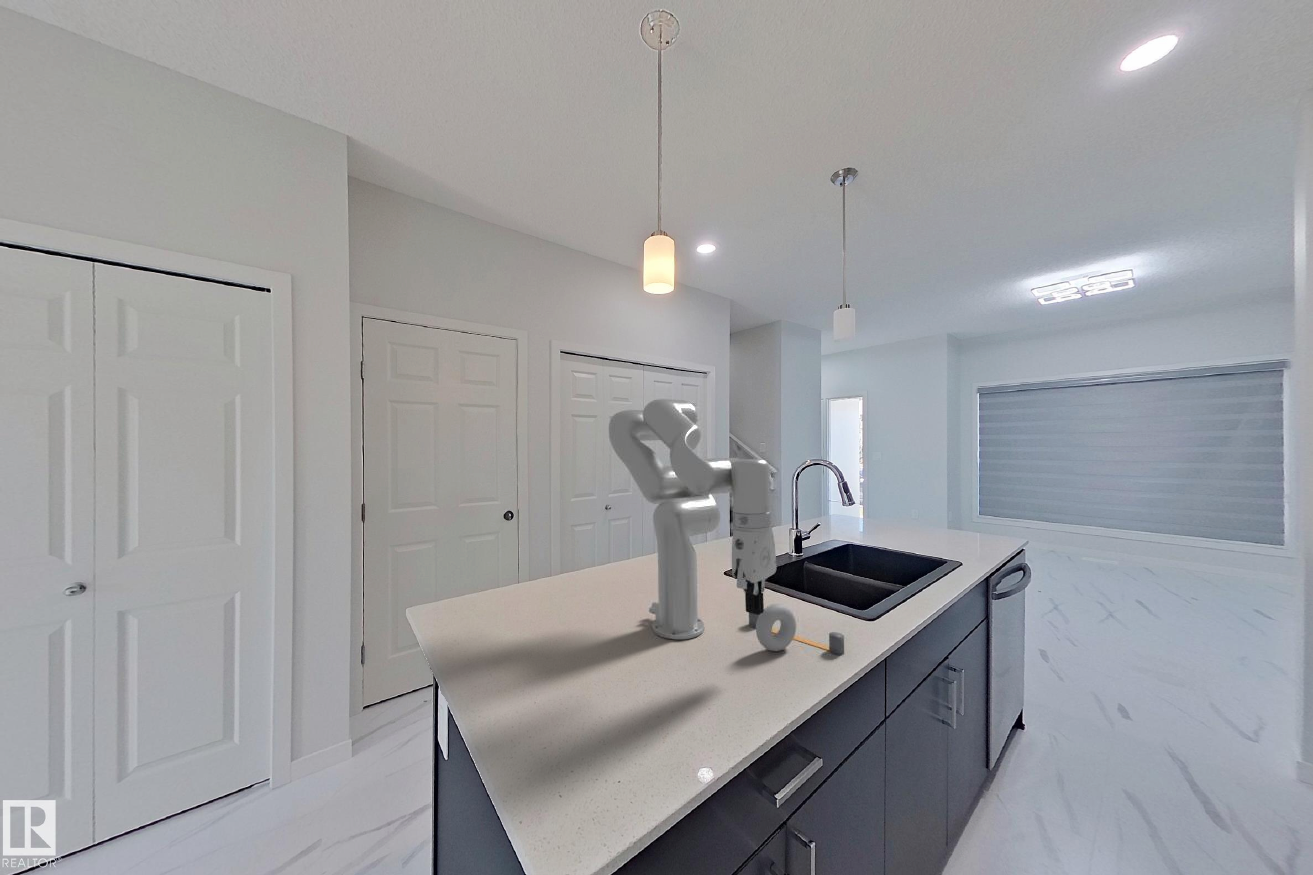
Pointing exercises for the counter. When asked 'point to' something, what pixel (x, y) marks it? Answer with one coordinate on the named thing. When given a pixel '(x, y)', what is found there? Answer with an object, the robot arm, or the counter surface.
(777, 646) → the donut
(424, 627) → the counter surface
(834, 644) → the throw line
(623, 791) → the counter surface
